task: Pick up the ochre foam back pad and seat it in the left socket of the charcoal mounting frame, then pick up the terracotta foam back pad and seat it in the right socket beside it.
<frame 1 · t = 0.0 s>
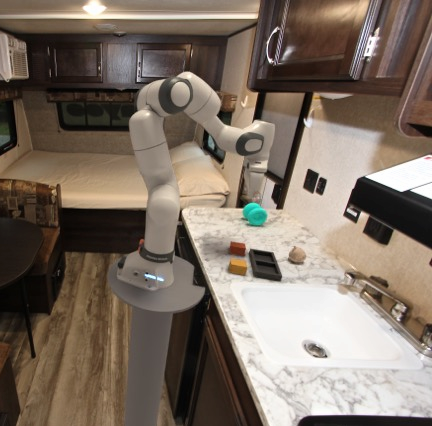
hand: (247, 194, 122), 27 cm above the worktop, tool pointing down, fingers open, 8 cm apart
garlic bulb: (295, 261, 126), on the worktop
pad a: (236, 270, 118), on the worktop
donuts: (252, 222, 160), on the worktop
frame: (263, 266, 121), on the worktop
pad b: (236, 252, 131), on the worktop
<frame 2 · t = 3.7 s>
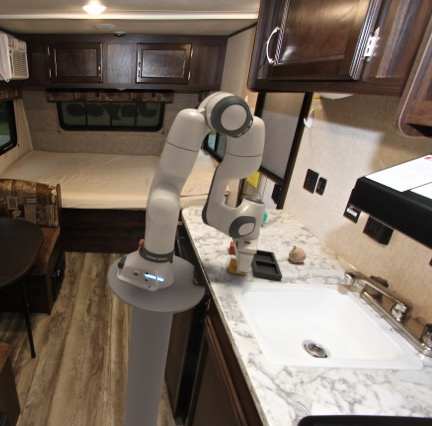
hand: (237, 267, 117), 2 cm above the worktop, tool pointing down, fingers closed on pad a, 4 cm apart
pad a: (236, 270, 118), on the worktop, touching gripper
everything else where it was.
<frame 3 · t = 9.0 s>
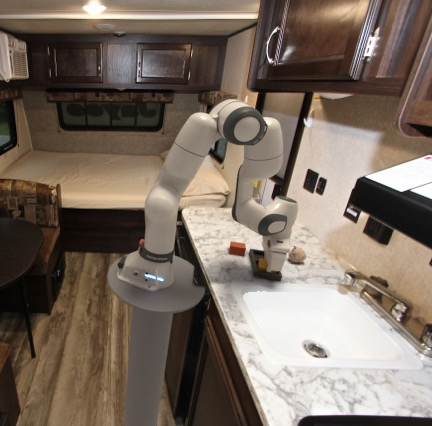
hand: (267, 267, 117), 3 cm above the worktop, tool pointing down, fingers closed on pad a, 4 cm apart
pad a: (266, 270, 117), point 1 cm above the worktop, touching gripper
everything else where it was.
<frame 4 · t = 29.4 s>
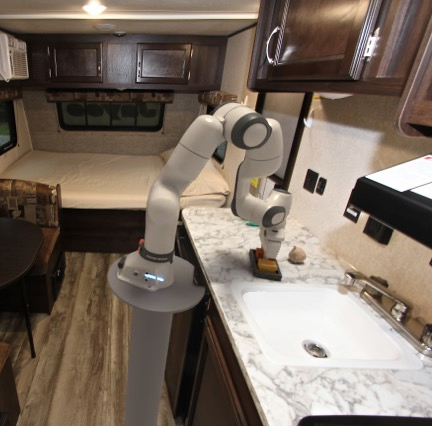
hand: (263, 256, 124), 3 cm above the worktop, tool pointing down, fingers closed on pad b, 4 cm apart
pad a: (265, 270, 118), point 1 cm above the worktop, touching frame
pad b: (262, 259, 125), point 1 cm above the worktop, touching gripper
everything else where it was.
when the fingers open (3 cm above the worktop, at t = 31.8 s): pad b stays where it is, resting on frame.
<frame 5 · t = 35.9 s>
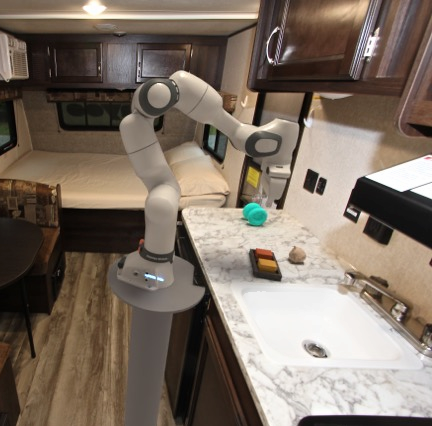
hand: (265, 202, 109), 29 cm above the worktop, tool pointing down, fingers open, 8 cm apart
pad b: (262, 259, 125), point 1 cm above the worktop, touching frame
everything else where it was.
at the end: pad a 0.1 cm from the target spot in the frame, point 0.6 cm above the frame's base; pad b 0.1 cm from the target spot in the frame, point 0.6 cm above the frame's base; pad b tilted 0° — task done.
